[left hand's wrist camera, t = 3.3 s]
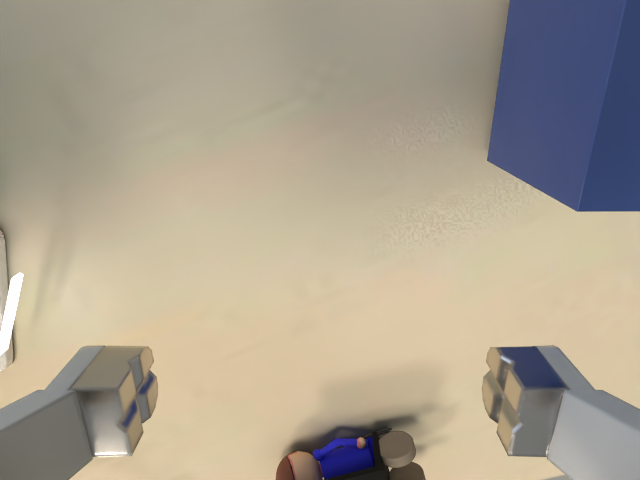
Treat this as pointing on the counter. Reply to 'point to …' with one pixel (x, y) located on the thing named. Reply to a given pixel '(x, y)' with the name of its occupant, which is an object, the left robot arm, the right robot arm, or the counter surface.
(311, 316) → the counter surface
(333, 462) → the figurine character
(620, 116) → the box
